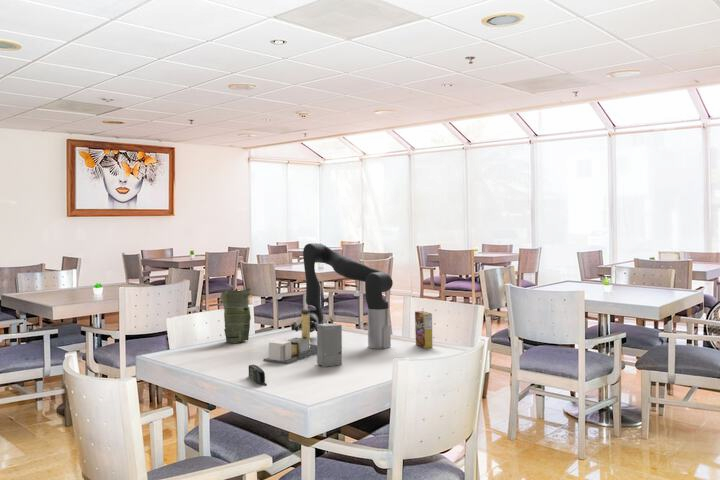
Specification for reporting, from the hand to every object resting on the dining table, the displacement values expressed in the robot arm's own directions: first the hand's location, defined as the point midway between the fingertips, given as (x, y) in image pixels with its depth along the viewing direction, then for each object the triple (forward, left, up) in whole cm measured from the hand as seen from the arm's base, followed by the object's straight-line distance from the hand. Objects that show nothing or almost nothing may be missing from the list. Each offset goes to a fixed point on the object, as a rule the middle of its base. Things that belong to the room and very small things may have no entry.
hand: (306, 329), depth 261 cm
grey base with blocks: (-2, +8, -9) cm, 12 cm away
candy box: (-41, -33, -10) cm, 53 cm away
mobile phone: (-14, +49, -10) cm, 52 cm away
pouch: (+41, -2, -10) cm, 42 cm away
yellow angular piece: (-2, +11, -8) cm, 14 cm away
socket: (-2, +21, -9) cm, 23 cm away
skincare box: (-23, +16, -10) cm, 30 cm away
